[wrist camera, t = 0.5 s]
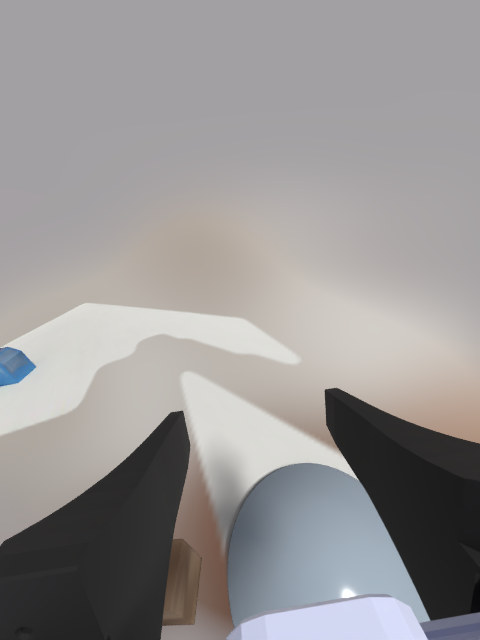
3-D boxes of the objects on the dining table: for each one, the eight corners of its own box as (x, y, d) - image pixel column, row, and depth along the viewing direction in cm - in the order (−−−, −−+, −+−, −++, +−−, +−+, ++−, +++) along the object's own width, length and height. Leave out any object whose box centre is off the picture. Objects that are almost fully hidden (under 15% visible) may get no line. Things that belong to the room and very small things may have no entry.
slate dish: (511, 765, 12) (517, 767, 12) (224, 752, 15) (219, 753, 14) (370, 459, 26) (370, 454, 26) (233, 476, 28) (231, 472, 28)
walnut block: (194, 624, 19) (170, 610, 17) (150, 626, 20) (121, 613, 18) (201, 558, 23) (182, 538, 20) (164, 560, 23) (141, 542, 21)
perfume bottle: (18, 370, 69) (-14, 338, 63) (36, 367, 68) (5, 333, 62) (-1, 386, 64) (-38, 352, 58) (18, 382, 63) (-18, 348, 57)
